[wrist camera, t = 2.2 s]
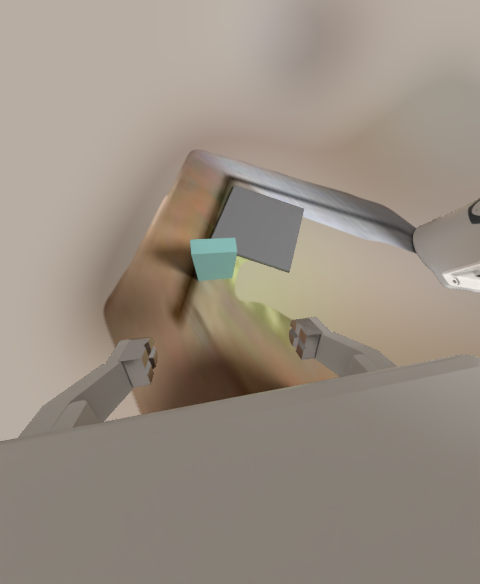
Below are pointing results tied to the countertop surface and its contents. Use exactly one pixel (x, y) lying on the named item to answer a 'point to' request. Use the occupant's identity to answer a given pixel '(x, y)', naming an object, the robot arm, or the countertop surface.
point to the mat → (261, 227)
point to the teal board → (214, 258)
